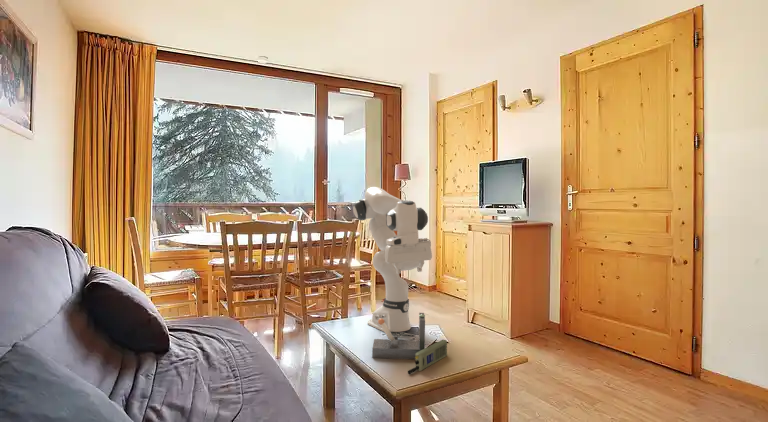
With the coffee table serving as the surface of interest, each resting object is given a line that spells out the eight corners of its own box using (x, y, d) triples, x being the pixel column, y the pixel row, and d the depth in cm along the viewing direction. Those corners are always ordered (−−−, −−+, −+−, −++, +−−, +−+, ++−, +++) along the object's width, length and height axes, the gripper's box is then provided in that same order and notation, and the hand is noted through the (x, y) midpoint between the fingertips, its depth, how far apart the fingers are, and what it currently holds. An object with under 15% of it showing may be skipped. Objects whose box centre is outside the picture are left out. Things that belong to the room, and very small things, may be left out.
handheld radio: (448, 356, 167) (412, 377, 147) (441, 354, 169) (405, 375, 150) (448, 340, 166) (412, 359, 147) (441, 338, 169) (405, 357, 149)
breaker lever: (391, 345, 167) (376, 321, 166) (391, 343, 169) (377, 319, 169) (396, 342, 166) (382, 318, 166) (397, 340, 169) (382, 316, 169)
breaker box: (372, 357, 164) (372, 317, 163) (374, 348, 174) (374, 310, 173) (424, 359, 162) (425, 318, 162) (423, 349, 172) (424, 311, 172)
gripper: (427, 237, 175) (428, 269, 175) (382, 240, 168) (384, 273, 168) (433, 238, 169) (435, 271, 169) (387, 241, 162) (389, 275, 162)
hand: (409, 272), depth 169 cm, fingers open, 8 cm apart
